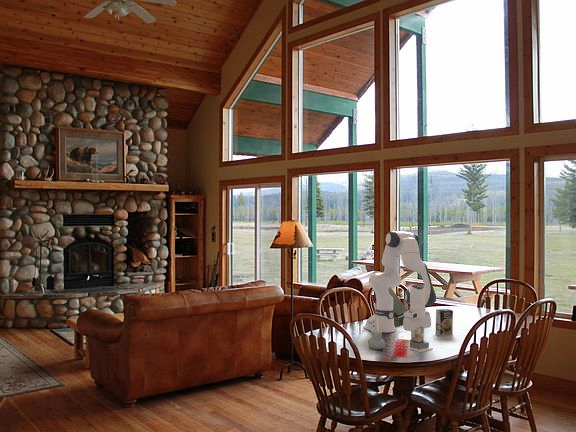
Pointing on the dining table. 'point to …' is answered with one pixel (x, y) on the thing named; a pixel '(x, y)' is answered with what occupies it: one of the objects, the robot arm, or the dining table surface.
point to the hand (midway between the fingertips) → (417, 336)
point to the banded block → (418, 335)
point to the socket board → (420, 346)
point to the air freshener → (376, 340)
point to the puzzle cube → (401, 347)
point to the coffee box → (444, 322)
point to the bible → (397, 309)
